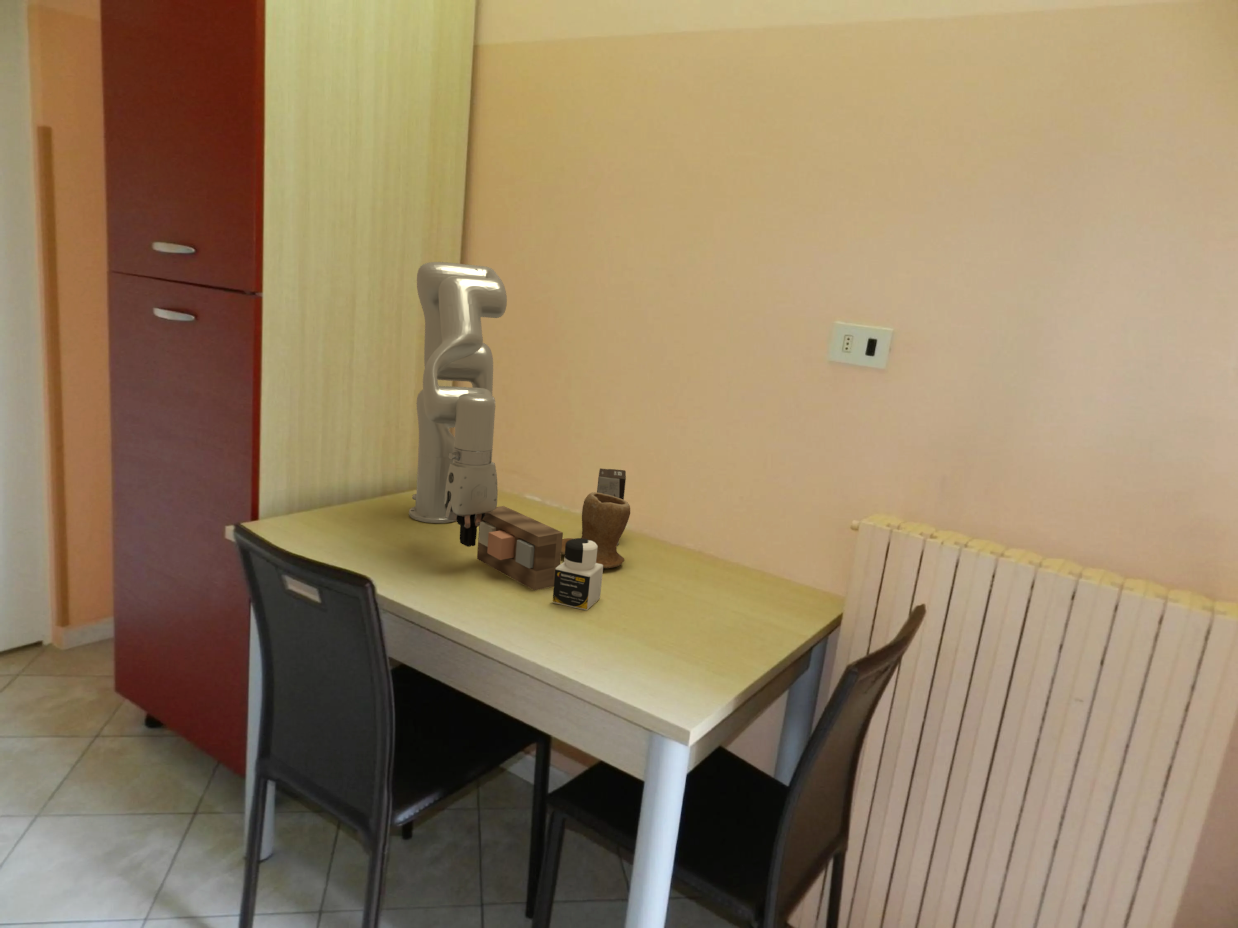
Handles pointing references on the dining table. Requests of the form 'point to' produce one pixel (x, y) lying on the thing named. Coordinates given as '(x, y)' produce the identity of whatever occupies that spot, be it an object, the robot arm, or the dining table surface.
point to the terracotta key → (501, 544)
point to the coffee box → (612, 483)
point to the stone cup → (604, 526)
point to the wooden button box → (534, 533)
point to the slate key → (525, 553)
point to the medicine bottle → (578, 575)
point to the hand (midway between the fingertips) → (467, 544)
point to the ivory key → (485, 532)
